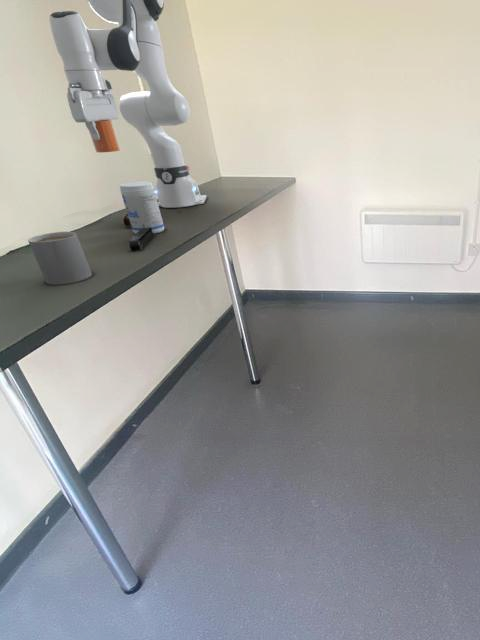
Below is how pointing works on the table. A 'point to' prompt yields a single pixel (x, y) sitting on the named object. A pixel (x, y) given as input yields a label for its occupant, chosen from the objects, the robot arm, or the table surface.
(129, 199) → the supplement tub
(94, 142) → the cup
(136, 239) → the black bar
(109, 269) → the table surface
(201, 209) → the table surface
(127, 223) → the sunglasses case
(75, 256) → the coffee mug
